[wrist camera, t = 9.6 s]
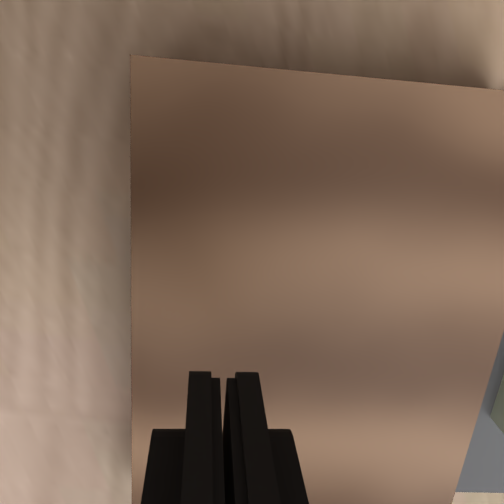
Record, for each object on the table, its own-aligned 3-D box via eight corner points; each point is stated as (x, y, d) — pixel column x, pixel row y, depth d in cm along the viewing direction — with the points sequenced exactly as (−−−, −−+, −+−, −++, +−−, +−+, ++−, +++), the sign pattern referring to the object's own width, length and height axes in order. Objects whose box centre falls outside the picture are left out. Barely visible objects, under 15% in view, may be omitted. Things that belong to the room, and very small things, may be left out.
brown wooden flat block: (153, 63, 15) (130, 55, 11) (493, 95, 16) (574, 97, 12) (148, 479, 21) (131, 563, 17) (397, 484, 22) (433, 564, 18)
